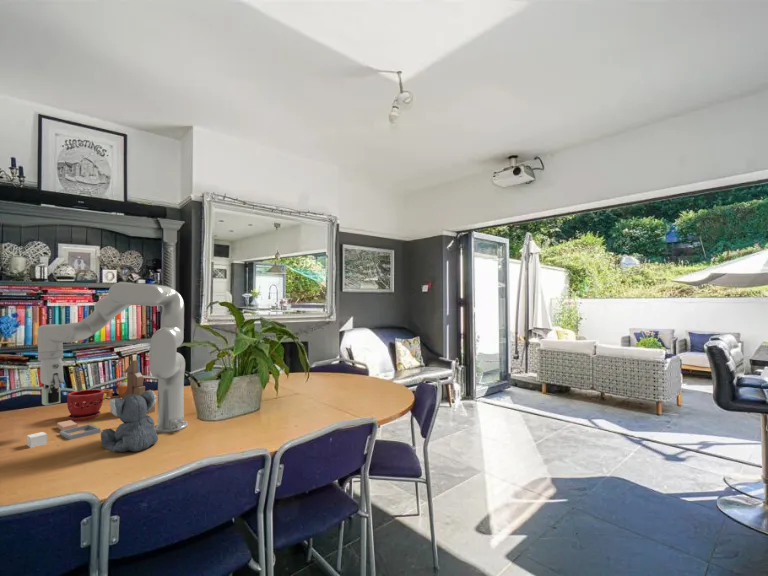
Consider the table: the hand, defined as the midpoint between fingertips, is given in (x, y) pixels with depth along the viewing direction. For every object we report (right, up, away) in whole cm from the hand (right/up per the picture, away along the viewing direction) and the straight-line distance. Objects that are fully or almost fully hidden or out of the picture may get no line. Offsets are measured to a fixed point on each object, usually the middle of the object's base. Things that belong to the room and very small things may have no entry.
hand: (51, 401), depth 152 cm
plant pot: (-4, -15, +22) cm, 27 cm away
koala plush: (+40, -13, -11) cm, 44 cm away
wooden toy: (+15, -15, +31) cm, 37 cm away
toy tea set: (-19, -16, +57) cm, 62 cm away
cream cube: (+5, -14, -11) cm, 18 cm away
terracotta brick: (+1, -14, +7) cm, 16 cm away
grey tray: (+11, -14, +1) cm, 18 cm away
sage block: (0, -1, 0) cm, 1 cm away
